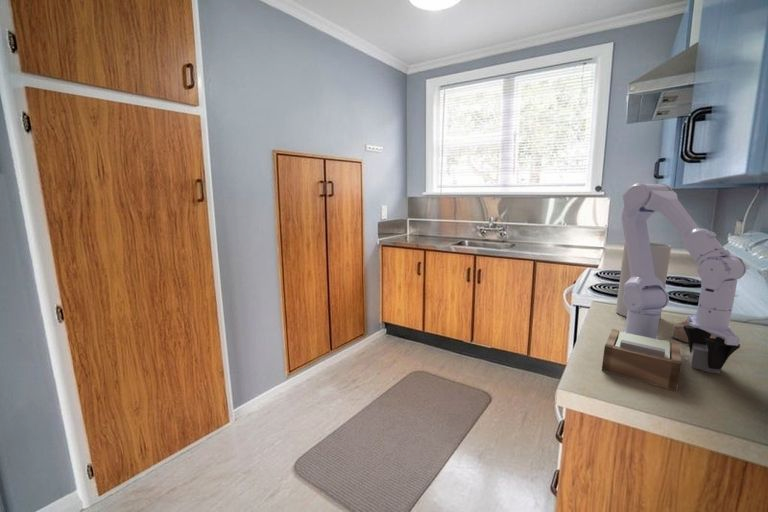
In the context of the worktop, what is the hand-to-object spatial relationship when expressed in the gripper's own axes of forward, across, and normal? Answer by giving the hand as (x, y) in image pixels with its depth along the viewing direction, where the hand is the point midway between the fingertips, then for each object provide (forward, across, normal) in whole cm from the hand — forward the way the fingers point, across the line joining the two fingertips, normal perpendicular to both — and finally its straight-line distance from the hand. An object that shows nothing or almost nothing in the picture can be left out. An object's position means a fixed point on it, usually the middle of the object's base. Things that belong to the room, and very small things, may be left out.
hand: (705, 361), depth 82 cm
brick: (+2, -22, +10) cm, 24 cm away
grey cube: (+1, 0, 0) cm, 1 cm away
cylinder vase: (+2, -39, +2) cm, 39 cm away
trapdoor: (-3, +4, -15) cm, 16 cm away
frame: (+1, +5, -16) cm, 16 cm away
